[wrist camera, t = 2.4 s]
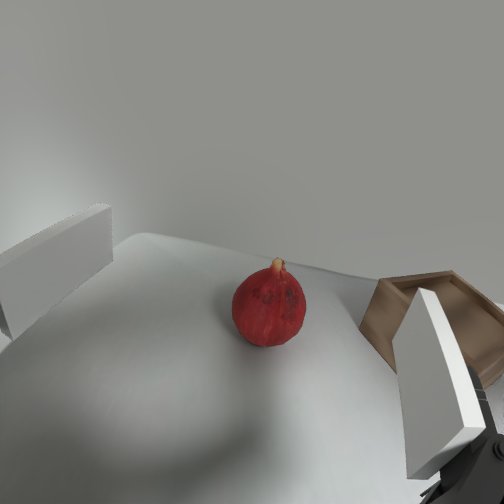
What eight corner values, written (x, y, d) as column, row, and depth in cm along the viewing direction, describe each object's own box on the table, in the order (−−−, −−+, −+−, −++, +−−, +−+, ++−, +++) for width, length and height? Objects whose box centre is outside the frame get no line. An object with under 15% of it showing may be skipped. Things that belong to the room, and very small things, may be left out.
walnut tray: (500, 376, 24) (529, 334, 22) (438, 423, 19) (478, 373, 17) (432, 311, 35) (451, 270, 32) (358, 329, 30) (379, 278, 27)
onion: (305, 358, 25) (334, 278, 22) (242, 373, 23) (261, 287, 19) (274, 317, 30) (293, 241, 26) (217, 325, 28) (228, 244, 24)
